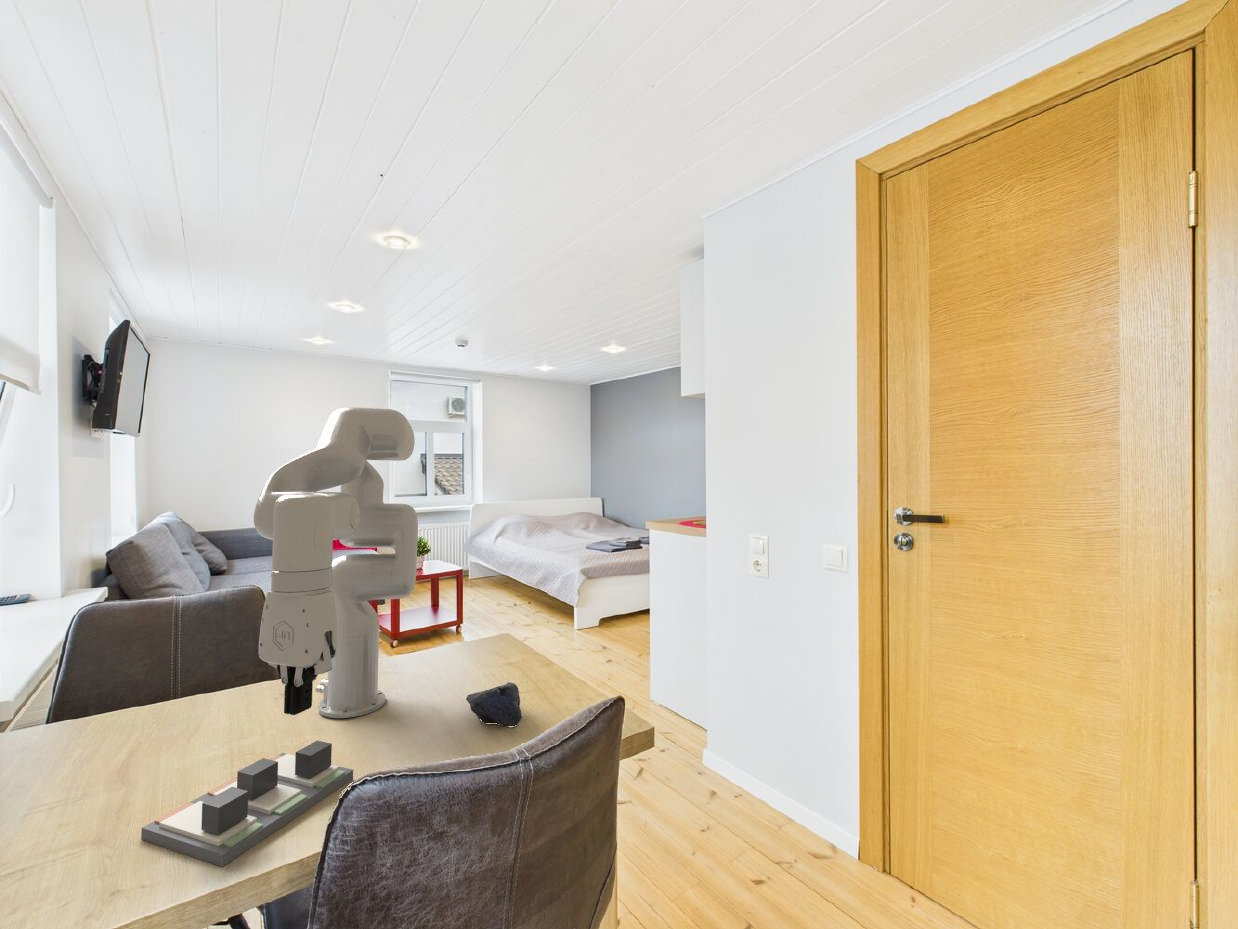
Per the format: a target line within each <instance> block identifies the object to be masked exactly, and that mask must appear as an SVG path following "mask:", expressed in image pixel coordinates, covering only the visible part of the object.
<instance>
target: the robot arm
mask: <svg viewBox="0 0 1238 929" xmlns="http://www.w3.org/2000/svg"><path fill="white" fill-rule="evenodd" d="M414 449H415V434H414V431H413V427H412V425H411V423H410V422H409V421H408V419H407V417H406V416H405V415H404V414H403V413H401V412H400V411H397V410H395V409H391V408H375V407H373V408H371V407H342V408H339V409H336V410H335V411H333V412H332V413H331V414H330V415H329V417H328V418H327V420H326V423H325V425H324V427H323V429H322V432H321V434H320V437H319V439H318V441H317V443H316V445H315V448H314V449H313V450H311V451H308V452H306V453H303V454H302V455H300V456H298V457H296V458H294V459H292V460H290V461H289V462H287V463H284V464H283V465H282V466H280V467H279V468H277V469H276V470H274V471H273V472H272V473H271V474H270V477H268V479H267V481H266V483H265V484H264V486H263V488H262V490H261V493H260V494H259V496H258V498H257V502H256V504H255V508H254V512H253V526H254V527H255V531H256V532H257V533H258V534H259V535H260V536H261V537H262V538H265V539H267V540H271V541H272V552H271V553H272V556H271V560H272V561H271V576H270V578H271V579H270V580H271V581H270V582H271V584H270V590H268V591H267V593H266V596H265V599H264V604H263V608H262V615H261V620H260V627H259V630H260V631H259V638H258V656H259V658H260V660H261V661H263V662H265V663H267V664H268V665H269V666H270V667H273V668H275V669H277V670H278V673H279V674H280V680H281V681H280V682H281V684H282V685H284V696H283V697H284V699H283V700H284V704H283V705H284V706H283V713H284V715H285V714H286V715H291V716H297V715H299V714H301V713H303V712H305V711H308V710H309V709H312V708H311V707H312V705H313V684H314V683H313V682H314V681H316V680H317V678H318V676H319V675H323V674H326V673H327V679H325V678H324V679H322V680H321V681H320V682H319V683H320V684H318V685H317V686H316V687H315V692H316V693H319V694H323V699H322V700H320V702H319V704H318V708H317V709H318V713H319V715H322V716H323V717H326V718H330V719H350V718H356V717H360V716H364V715H367V714H370V713H372V712H374V711H377V710H379V709H380V708H381V707H383V705H385V703H386V694H385V693H384V692H383V691H381V690H378V689H379V688H378V687H379V654H380V653H379V651H380V649H379V648H380V645H379V644H380V618H379V616H378V613H377V612H376V610H375V609H374V607H373V606H372V605H371V604H370V603H369V601H373V600H374V601H375V600H399V599H406V598H408V597H410V596H411V595H412V594H413V592H414V590H415V589H416V588H415V587H416V582H417V570H418V569H417V567H418V566H417V564H418V538H419V536H418V535H419V523H418V522H419V521H418V516H417V515H418V514H417V512H416V510H415V508H414V507H413V506H411V505H409V504H405V503H384V489H385V488H384V487H385V484H384V482H385V481H384V479H383V478H382V476H381V475H380V473H379V471H378V470H376V468H375V467H374V466H373V465H372V464H371V463H370V462H369V461H396V462H397V461H400V462H401V461H406V460H408V459H409V458H410V457H411V456H412V455H413V453H414ZM339 486H340V491H339V492H338V491H324V490H328V489H333V488H336V487H339ZM337 540H339V543H340V544H342V545H343V546H345V547H348V548H359V549H360V548H361V549H363V548H365V549H366V548H368V549H369V548H377V549H378V548H390V549H393V550H394V553H352V554H349V553H348V554H343V555H340V556H338V557H336V558H333V555H334V554H333V552H334V551H333V550H334V545H333V544H334V542H333V541H337Z"/></svg>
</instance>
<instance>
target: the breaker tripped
mask: <svg viewBox="0 0 1238 929" xmlns="http://www.w3.org/2000/svg"><path fill="white" fill-rule="evenodd" d="M269 759H270V758H269ZM269 759H268V758H265V757H263V758H261V759H259V760H257V761H255V762H252V763H251V764H249V765H247V766H245V767H244V768H241V769H240V770H238V771H237V775H236V777H237V788H239V789H242V790H246V791H248V799H249V800H253V799H255V798H257V797H258V796H260V795H262V794H264V793H265V792H267V791H269V790H270V789H272V788H274V787H275V786H277V783H278V762H277V761H273V760H269Z"/></svg>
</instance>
